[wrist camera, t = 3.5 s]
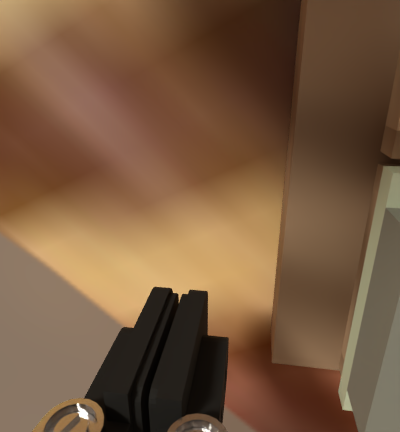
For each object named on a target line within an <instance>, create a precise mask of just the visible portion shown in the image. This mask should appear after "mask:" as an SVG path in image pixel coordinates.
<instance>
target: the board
mask: <svg viewBox="0 0 400 432" xmlns="http://www.w3.org/2000/svg"><path fill="white" fill-rule="evenodd" d="M383 166H400V0H301V8H300V18H299V29H298V40H297V51H296V62H295V73H294V83H293V94H292V105H291V116H290V127H289V138H288V149H287V159H286V170H285V181H284V192H283V203H282V214H281V224H280V235H279V246H278V257H277V268H276V279H275V289H274V300H273V311H272V322H271V351H272V363H277V364H286V365H294V366H303V367H312V368H321V369H330V370H339V371H340V374H341V375H342V370H343V365H344V361H345V356H346V351H347V346H348V341H349V336H350V331H351V326H352V321H353V316H354V311H355V306H356V301H357V296H358V291H359V286H360V281H361V276H362V271H363V266H364V261H365V256H366V251H367V246H368V241H369V236H370V231H371V226H372V221H373V216H374V211H375V206H376V201H377V196H378V191H379V186H380V181H381V176H382V171H383Z"/></svg>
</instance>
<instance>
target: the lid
mask: <svg viewBox="0 0 400 432" xmlns="http://www.w3.org/2000/svg"><path fill="white" fill-rule="evenodd" d="M338 393H339V397H340V401H341V405H342V409H343V410H348V411H353V414H354V418H355V421H356V425H357V429H358V432H400V166H383V171H382V176H381V181H380V186H379V191H378V196H377V201H376V206H375V211H374V216H373V221H372V226H371V231H370V236H369V241H368V246H367V251H366V256H365V261H364V266H363V271H362V276H361V281H360V286H359V291H358V296H357V301H356V306H355V311H354V316H353V321H352V326H351V331H350V336H349V341H348V346H347V351H346V356H345V361H344V365H343V370H342V375H341V380H340V385H339V390H338Z"/></svg>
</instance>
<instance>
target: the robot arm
mask: <svg viewBox="0 0 400 432" xmlns="http://www.w3.org/2000/svg"><path fill="white" fill-rule="evenodd" d="M207 330H208V292H207V291H198V290H189V293H188V294H182V297H181V299H180V302H179V298H178V294H177V293H173V291H172V288H162V287H154V288H153V289H152V291H151V293H150V295H149V297H148V299H147V301H146V304H145V306H144V308H143V310H142V312H141V314H140V316H139V318H138V320H137V322H136V324H135V326H134V328H128V327H123V328H122V329H121V331H120V332H119V334H118V336H117V338H116V340H115V341H114V343H113V345H112V347H111V349H110V351H109V353H108V355H107V356H106V358H105V360H104V362H103V364H102V366H101V368H100V369H99V371H98V373H97V375H96V377H95V379H94V381H93V383H92V384H91V386H90V388H89V390H88V392H87V394H86V396H85V398H78V399H70V400H68V401H65V402H62V403H61V404H59V405H57V406H56V407H54V408H53V409H51V410H50V411H49V412H48V413H47V414H46V415H45V416H44V417H43V418H42V420H41V421H40V422H39V423H38V424H37V426H36V427H35V428H34V430H33V431H32V432H228V431H227V430H226V428H225V426H224V425H223V424H222V422H223V412H224V402H225V391H226V380H227V365H228V337H218V336H208V335H207Z"/></svg>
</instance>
